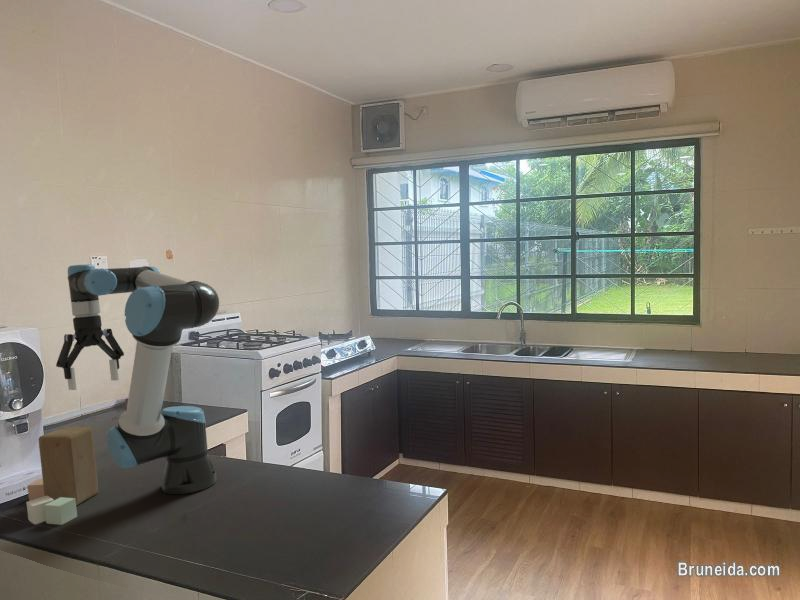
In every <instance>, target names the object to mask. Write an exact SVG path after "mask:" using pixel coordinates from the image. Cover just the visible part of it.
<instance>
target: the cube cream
mask: <svg viewBox="0 0 800 600" xmlns="http://www.w3.org/2000/svg"><path fill="white" fill-rule="evenodd" d="M52 501H54V499H52V498H50V497H49V496H44V497H41V498H37V499H34V500H31V501H29V500H28V501H26V509H27V520H28V521H29V522H30V523H32V524H33V525H39V524H41V523H44V522H46V514H45V505H46V504H48V503H50V502H52Z"/></svg>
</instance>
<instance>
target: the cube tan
mask: <svg viewBox="0 0 800 600" xmlns="http://www.w3.org/2000/svg"><path fill="white" fill-rule="evenodd" d="M27 493H28V495H27V496H28V501H31V500H34V499H37V498H41V497H44V496H45V495H44V486H43V478H37V479H36V480H34V481H33V482H31V483H29V484H27Z"/></svg>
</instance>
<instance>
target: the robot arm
mask: <svg viewBox="0 0 800 600" xmlns="http://www.w3.org/2000/svg"><path fill="white" fill-rule="evenodd" d="M67 281H68V289H69V295H70V297H69V298H70V305H71V313H72V316H73V319H72V323H73V329H74V334H71V333H70V334H69V333H67V334H66V333H65V334H64V336H63V344H62V346H61V350H60V353H59V356H58V358H57V361H56V364H55V367H57V368H61V369H63V375H64V379H65V380H67V386H68V391H75V390H77V384H76V374H75V373H76V372H75V367H73V365H74V363H75V361H76V360H77V358H78V357H79V355H80V354H81V352H82V351H83V350H84V348H88V347H91V346H93V347H94V346H98V347H99V348H100V349H101V350H102V352H104V353H105V354H106V355H107V356H108V357H109V358H110V359H108V361H109V364H108V365H109V371H110V372H109V374H110V380H111V381H119V373H118V371H119V369H120V360H121V357H124V356H125V352H124V351H123V349H122V348H121V346H120V345H119V343H118V341H117V339H116V338H115V337H114V334H113V330H112V328H104V329H103V330H102V319H101V318H102V317H101V315H99V314H100V313H101V306H100V300H99V299H100V298H99V296H107V295H114V294H115V295H116V294H126V293H130V295H129V296H128V298H127V301H126V303H125V306H124V317H125V320H124V323H125V326H126V328H127V330H128V332H129V333H130V334H131V335H132V338H133V339H134V340H135V341H136V347H135V354H134V360H133V366H132V373H131V378H130V384H129V385H130V386H129V391H128V392H129V393H128V399H127V404H126V405H127V406H126V411H124V412H123V413H122V414H121V415H120V416H119V417H118V423H117V426H112V427H111V428H109V429H108V430H107V432H106V440H107V441H106V442H107V446H108V449H109V453H110V455H111V457H112V460H113V462H114V463H115V464H116V465H117V467H120V468H121V469H130V468H134V467H138V466H141V465H142V466H143V465H145V464H147V463H150V462H154V461H157V460H160V459H163V458H165V462H166V463H165V466H164V467H165V468H164V472H163V475H162V480H161V489H162V491H163V492H164V493H165V494H168V495H169V494H170V495H185V494H192V493H196V492H201V491H203V490H205V489H208V488H210V487H211V486H213V485H214V484H215V483H216V482H217V472H216V470H215V468H214V466H213V464H212V461H211V458H210V456H209V453H208V452H209V451H208V442H207V441H208V440H207V427H206V423H207V421H206V417H205V413H204V410H203V409H202V408H201V407H197V406H193V405H191V406H190V405H179V406H178V405H177V406H169V407H165V408H162V407H163V403H164V397H165V392H166V387H167V381H168V376H169V375H168V373H169V369H170V364H171V358H172V353H173V346H175V345H177V344H178V343H180V340H181V338H182V334H183V333H182V332H183V330H187V329H194V328H199V327H202V326H205V325H206V324H208V323H209V322H211V321H212V320H213V319H214V318H215V316H216V315H217V313H218V312H219V309H220V308H219V307H220V298H219V295H218V293H217V291H216V289H214V288H213V287H212V286H211V285H210V284H207V283H205V282H201V281H198V280H190V281H186V280H182V279H181V278H176V277H173V276H170V275H167V274H164V273H161V271H160V270H159V269H158V268H157V267H156V266H146V265H144V266H137V267H124V268H122V267H117V268H116V267H115V268H96V266H95V265H94V264H87V263H86V264H75V265H74V264H73V265H69V266H68V267H67ZM102 337H105V340H106V341H107V343H108V344H109V345H108V344H107V343H106V341H105V340H104V339H103V338H102ZM74 341H76V342H75V343H73V342H74ZM73 344H74V345H73ZM72 346H73V348H72Z"/></svg>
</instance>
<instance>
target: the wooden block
mask: <svg viewBox="0 0 800 600" xmlns="http://www.w3.org/2000/svg"><path fill="white" fill-rule="evenodd" d="M94 445H95V444H94V435H93V429H92V427H89V426H73V427H72V426H62V427H60V428H58V429H56V430H53V431H50V432H48V433H45V434H43V435H41V436H39V437H38V448H39V457H40V466H41V475H42V479H43V486H44V495H45V496H49V497H50V498H52V499H54V500H56V499H58V498H60V497H64V498H75V499H76V506H78V505H80V504H82V503H83V502H85V501H87V500H88V499H90V498H92V497H94V496H95V495H97V494H98V492H99V485H98V484H99V482H98V475H97V465H96V454H95V446H94Z"/></svg>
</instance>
